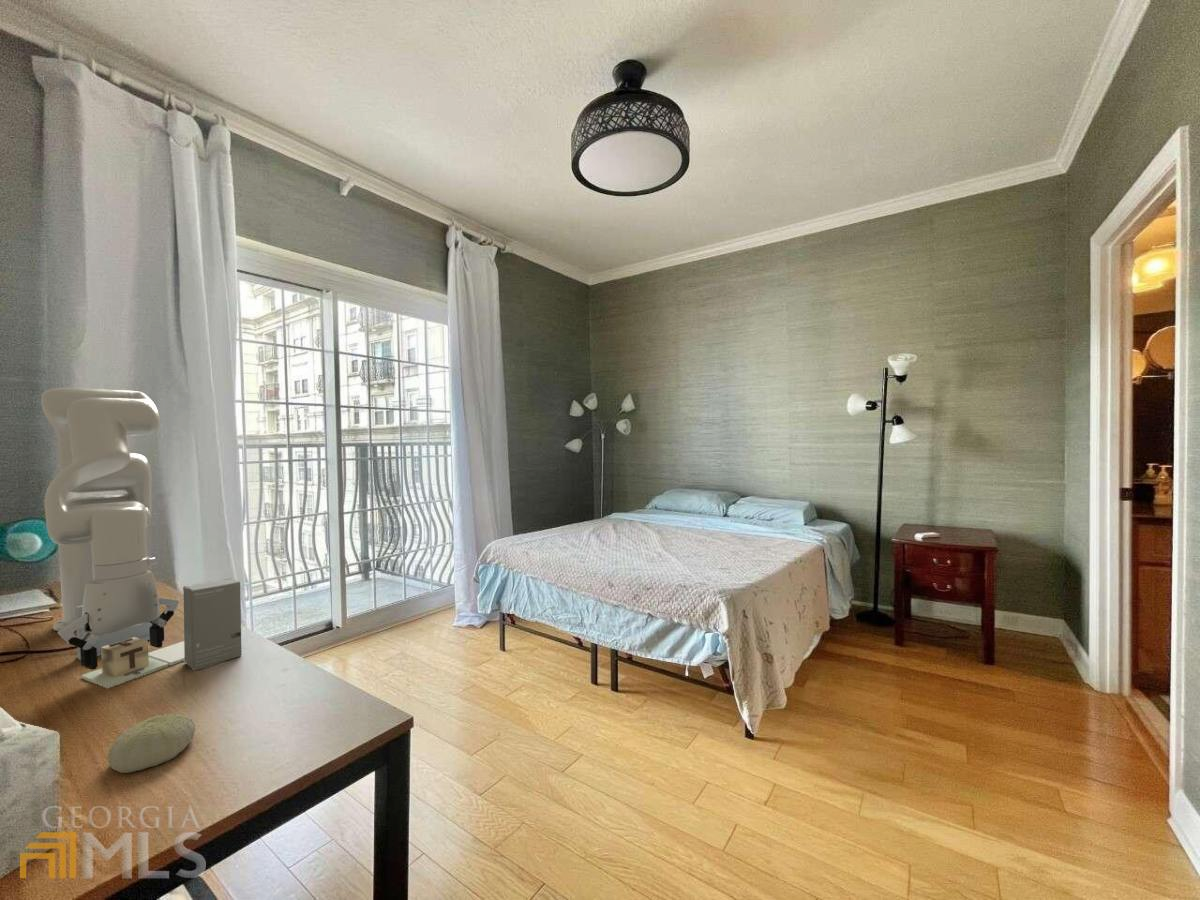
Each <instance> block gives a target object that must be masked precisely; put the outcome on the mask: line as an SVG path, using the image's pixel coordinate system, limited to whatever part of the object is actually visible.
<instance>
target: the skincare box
mask: <svg viewBox="0 0 1200 900" xmlns="http://www.w3.org/2000/svg"><path fill="white" fill-rule="evenodd" d="M182 589H183V590H182V591H183V627H184V628H183V639H184V640H183V641H184V657H185V661H184V662H185V664H186V665H188V666H189V667H190V668H191V669H192V670H193V671H197V670H200V669H204V668H207V667H210V666H214V665H217V664H220V663H224V662H226V661H229V660H233V659H235V657H236V658H239V657H241V656H242V653H243V652H242V613H241V611H242V607H241V605H242V604H241V603H242V601H241V582H240V581H238V580H236V579H234V578H231V577H230V578H225V579H217V580H209V581H205V582H201V583H193V584H190V585H189V584H188V585H183V587H182Z"/></svg>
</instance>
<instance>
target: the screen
mask: <svg viewBox="0 0 1200 900" xmlns="http://www.w3.org/2000/svg"><path fill="white" fill-rule="evenodd" d="M82 608H83V605H81V606H77V607H75V611H76V619H78V618H79V617H81V616H82ZM150 626H152V624H151V623H150V622H147V623H144V624H140V625H137V626H133V627H130V628H126V629H123V630H119V631H116V632H112V633H109V634H105V635H101V637H100V638H99V639H98V640H97V641H96V643H95V644H94V645H93V647H95V648H97V656H98V657H101V656H100V655H101V647H103V646H107V645H110V644H113V643H116V642H120V641H123V640H126V639H130V638H133V637H137V638H140V639H143V640H146V641H148V640H149V641H150V631H149V628H150ZM85 633H86V632H84V631H83V629H82V627H80V628H78V629H77V630H76V637H77V638H79V639H81V638H82V637H83V636H84V635H85ZM149 641H148V642H149ZM76 656H77V657H76V658H77V659H78V660H80V661H81V653H80V648H79V647H77V654H76Z"/></svg>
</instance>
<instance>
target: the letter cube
mask: <svg viewBox="0 0 1200 900" xmlns="http://www.w3.org/2000/svg"><path fill="white" fill-rule="evenodd" d="M148 653H149V641H146V640H143V639H140V638H137V637H133V638H130V639H126V640H123V641H120V642H116V643H113V644H110V645H107V646H103V647H101V656H100V657H101V669H102V673H104V674H107V675H109V676H112V677H114V678H116V677H119V676H121V675H124V674H127V673H129V672H132V671H135V670H138V669H141V668H144V667H147V666H149V657H148Z"/></svg>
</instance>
